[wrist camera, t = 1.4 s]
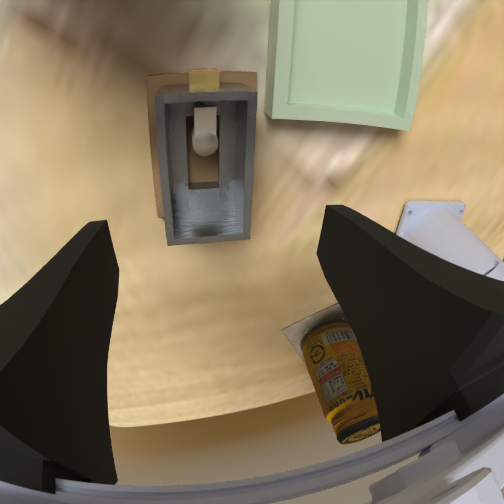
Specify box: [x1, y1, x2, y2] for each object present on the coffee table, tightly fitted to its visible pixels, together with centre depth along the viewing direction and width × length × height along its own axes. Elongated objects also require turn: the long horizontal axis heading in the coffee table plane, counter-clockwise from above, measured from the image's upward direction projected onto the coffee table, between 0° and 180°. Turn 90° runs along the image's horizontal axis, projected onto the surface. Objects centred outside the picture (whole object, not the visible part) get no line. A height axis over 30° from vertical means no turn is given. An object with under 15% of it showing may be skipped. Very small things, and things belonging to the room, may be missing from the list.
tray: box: [264, 0, 428, 131], centre depth 14 cm, size 13×10×2 cm
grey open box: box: [155, 69, 257, 246], centre depth 16 cm, size 9×4×4 cm, turn 177°
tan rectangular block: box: [147, 71, 257, 218], centre depth 16 cm, size 9×6×4 cm, turn 177°
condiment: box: [282, 303, 381, 444], centre depth 28 cm, size 7×8×12 cm
